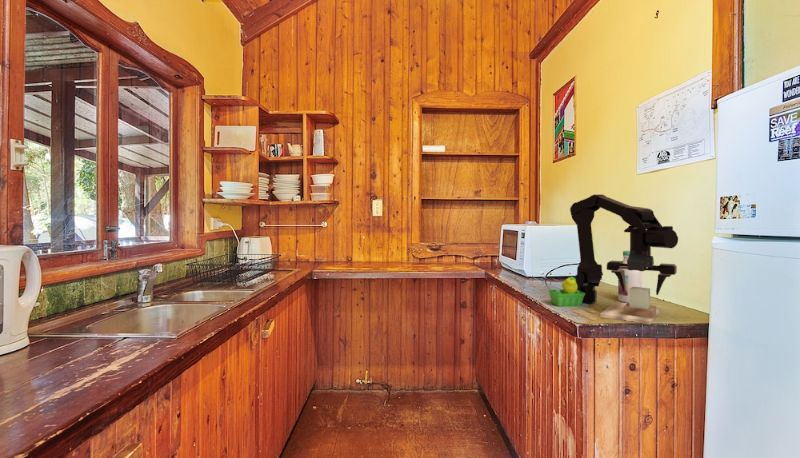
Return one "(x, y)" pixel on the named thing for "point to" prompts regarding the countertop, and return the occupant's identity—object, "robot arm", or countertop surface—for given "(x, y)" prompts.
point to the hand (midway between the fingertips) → (640, 293)
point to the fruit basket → (567, 294)
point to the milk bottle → (628, 280)
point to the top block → (639, 297)
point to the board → (617, 313)
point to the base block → (640, 311)
